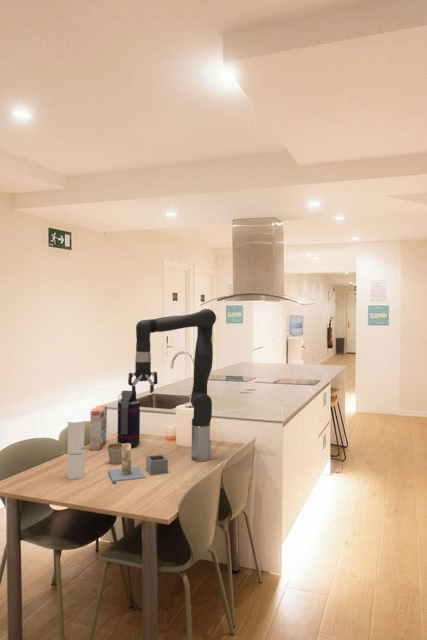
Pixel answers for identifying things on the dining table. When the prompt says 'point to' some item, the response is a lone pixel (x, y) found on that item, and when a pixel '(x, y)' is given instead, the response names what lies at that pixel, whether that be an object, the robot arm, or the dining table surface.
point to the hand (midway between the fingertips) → (142, 393)
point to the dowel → (126, 458)
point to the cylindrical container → (75, 449)
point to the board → (118, 476)
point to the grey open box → (156, 464)
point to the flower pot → (115, 453)
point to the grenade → (128, 419)
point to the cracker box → (98, 427)
